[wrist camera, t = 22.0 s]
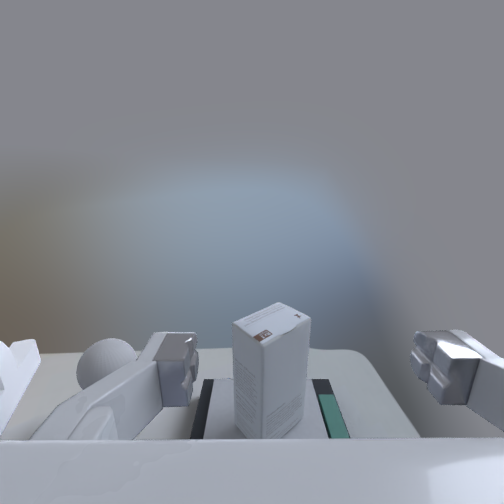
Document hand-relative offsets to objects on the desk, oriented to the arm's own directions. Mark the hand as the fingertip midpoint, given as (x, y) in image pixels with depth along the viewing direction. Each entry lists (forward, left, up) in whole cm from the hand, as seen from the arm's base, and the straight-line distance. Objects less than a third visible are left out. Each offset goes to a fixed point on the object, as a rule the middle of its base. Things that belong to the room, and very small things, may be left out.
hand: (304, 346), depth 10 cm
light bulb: (+18, -16, -22) cm, 32 cm away
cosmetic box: (0, -12, -18) cm, 22 cm away
